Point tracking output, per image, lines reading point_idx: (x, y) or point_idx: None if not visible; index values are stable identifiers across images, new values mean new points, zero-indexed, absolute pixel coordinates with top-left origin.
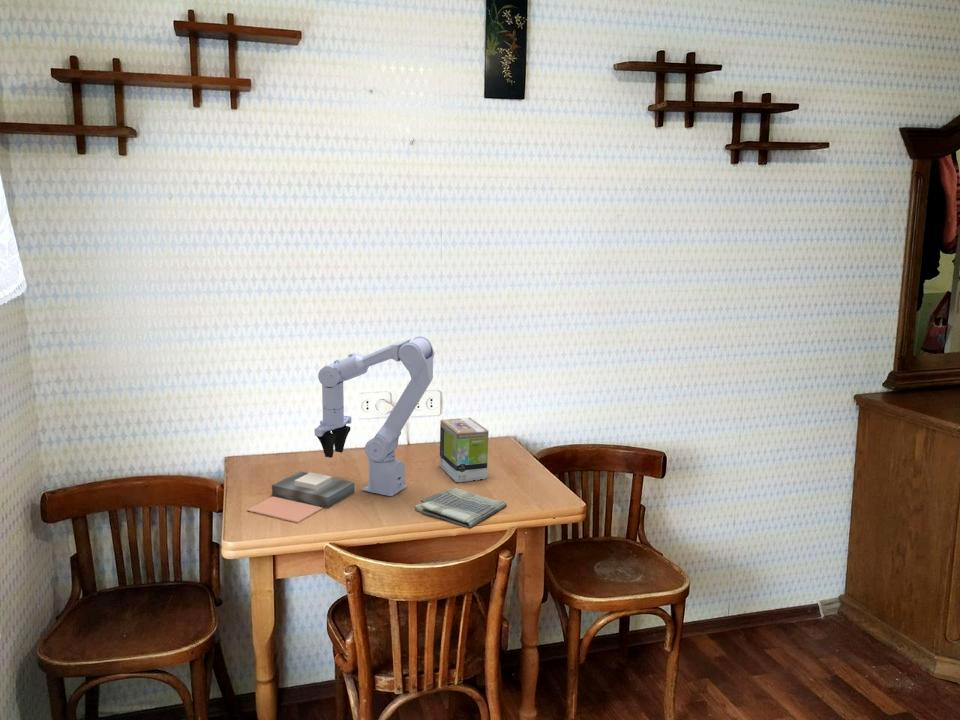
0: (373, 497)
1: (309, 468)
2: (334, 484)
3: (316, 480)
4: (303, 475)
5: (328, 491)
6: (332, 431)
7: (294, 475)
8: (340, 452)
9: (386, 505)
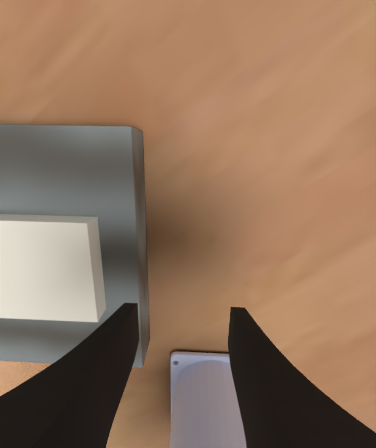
0: (148, 389)
1: (291, 63)
2: (90, 327)
3: (30, 295)
4: (98, 174)
5: (32, 340)
6: (284, 444)
7: (75, 137)
8: (228, 338)
9: (122, 428)
